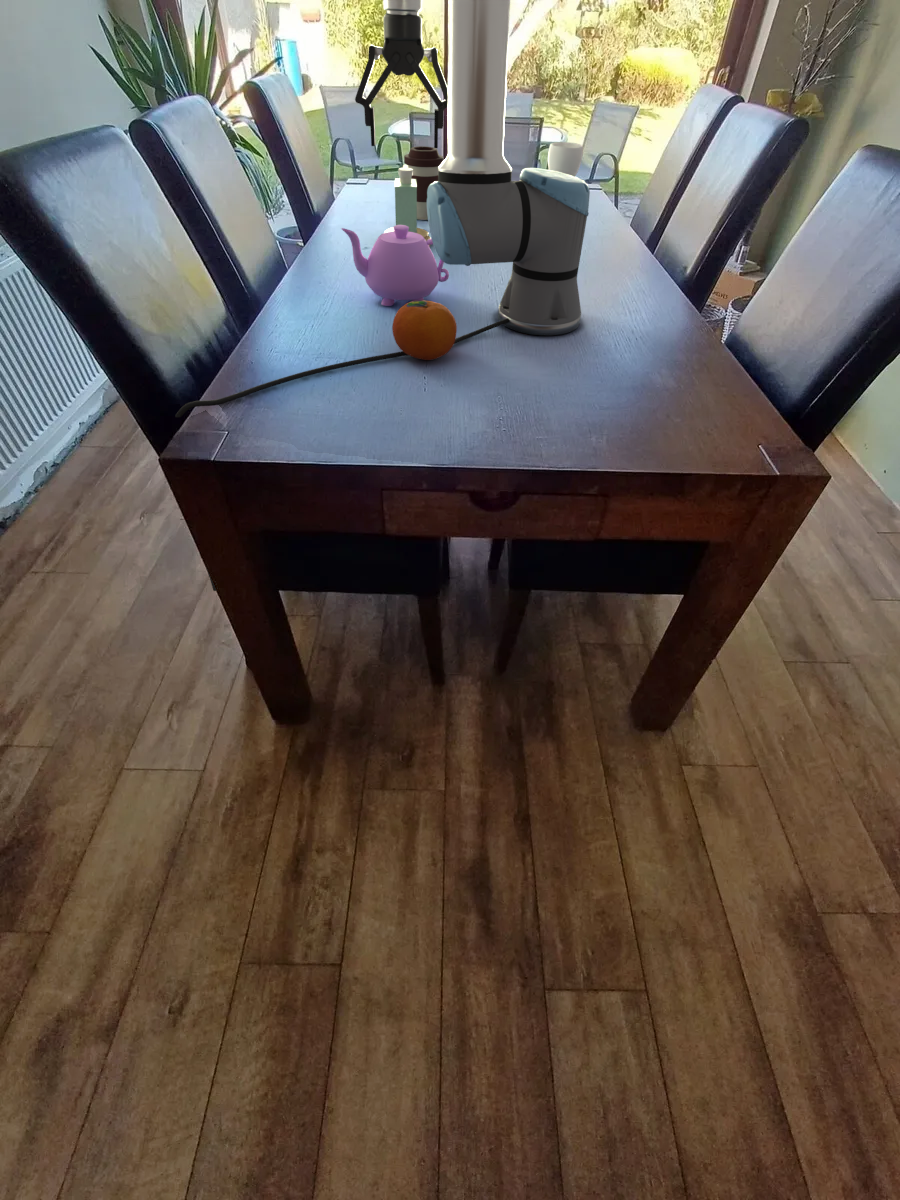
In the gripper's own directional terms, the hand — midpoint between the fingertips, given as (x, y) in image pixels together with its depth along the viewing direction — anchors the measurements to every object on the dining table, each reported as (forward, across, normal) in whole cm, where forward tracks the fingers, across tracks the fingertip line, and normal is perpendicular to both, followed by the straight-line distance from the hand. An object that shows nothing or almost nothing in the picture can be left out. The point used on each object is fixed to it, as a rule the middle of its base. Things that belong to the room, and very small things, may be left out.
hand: (404, 146), depth 137 cm
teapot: (+19, 0, -37) cm, 42 cm away
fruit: (+20, +5, -63) cm, 67 cm away
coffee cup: (+19, +4, +24) cm, 31 cm away
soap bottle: (+17, 0, 0) cm, 17 cm away
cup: (+19, +40, +29) cm, 53 cm away
